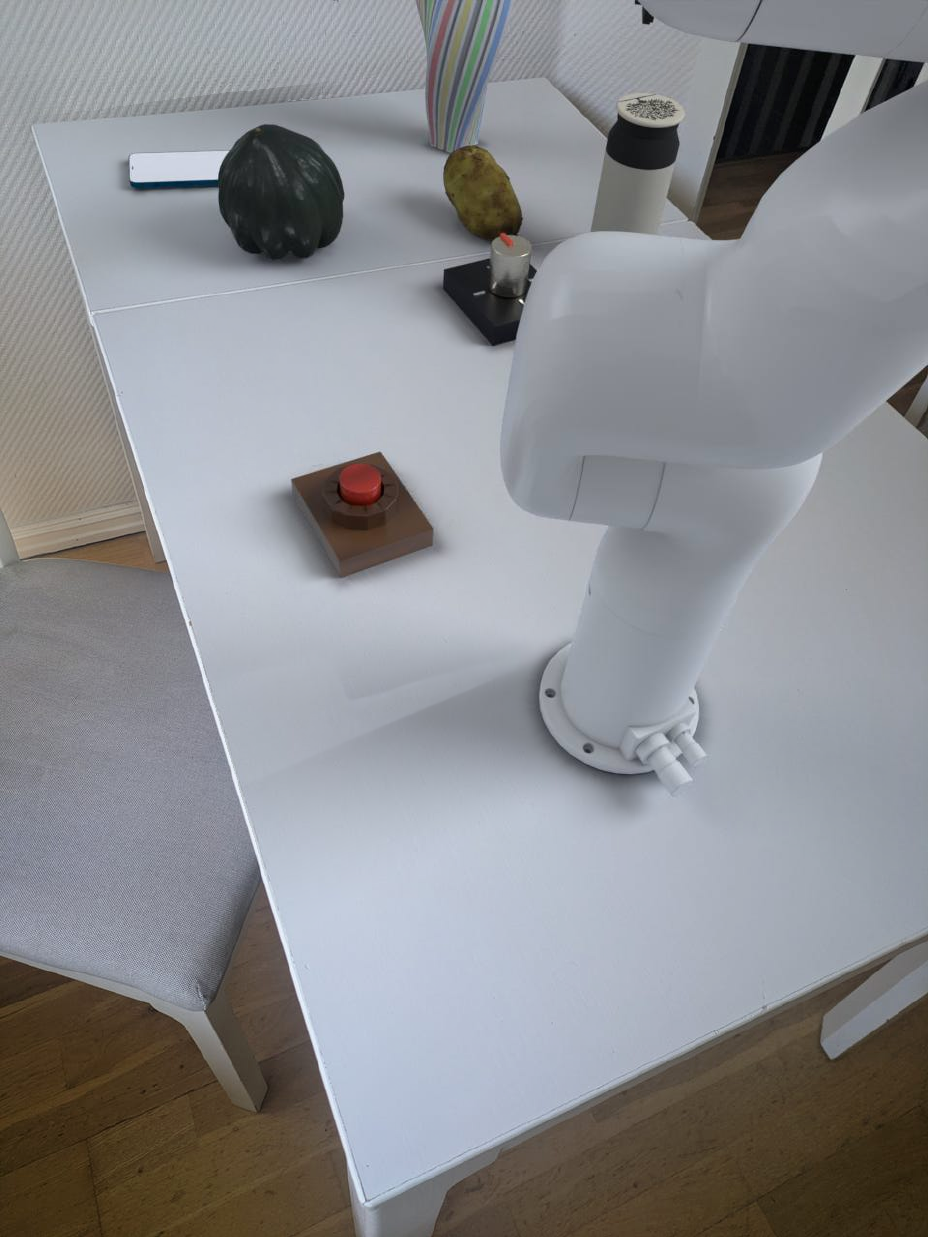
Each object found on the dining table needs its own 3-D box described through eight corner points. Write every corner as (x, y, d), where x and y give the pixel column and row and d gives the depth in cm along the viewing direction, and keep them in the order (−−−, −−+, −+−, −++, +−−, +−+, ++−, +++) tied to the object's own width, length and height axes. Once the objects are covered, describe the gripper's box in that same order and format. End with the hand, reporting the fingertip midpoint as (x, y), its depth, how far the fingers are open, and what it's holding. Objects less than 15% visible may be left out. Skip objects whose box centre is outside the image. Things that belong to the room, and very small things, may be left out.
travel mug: (661, 272, 111) (701, 119, 97) (604, 282, 109) (635, 127, 95) (631, 238, 115) (664, 87, 101) (575, 247, 113) (601, 94, 99)
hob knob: (533, 292, 102) (539, 248, 98) (499, 301, 101) (504, 257, 97) (513, 272, 105) (519, 228, 100) (480, 280, 103) (484, 236, 99)
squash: (345, 158, 112) (256, 68, 101) (383, 224, 105) (291, 136, 93) (268, 239, 117) (174, 163, 105) (299, 309, 109) (202, 235, 98)
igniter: (432, 545, 81) (434, 514, 78) (340, 578, 78) (338, 547, 75) (380, 468, 87) (380, 436, 84) (292, 495, 84) (289, 464, 81)
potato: (460, 253, 111) (464, 189, 104) (435, 200, 118) (438, 137, 112) (524, 248, 113) (532, 184, 106) (496, 195, 120) (502, 133, 114)
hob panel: (568, 324, 103) (572, 304, 101) (492, 346, 100) (494, 325, 98) (515, 270, 109) (518, 249, 107) (442, 288, 106) (443, 267, 104)
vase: (519, 141, 130) (547, -122, 106) (469, 177, 122) (487, -96, 99) (440, 113, 134) (450, -147, 110) (387, 147, 126) (386, -124, 102)
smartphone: (253, 155, 122) (129, 159, 119) (252, 148, 122) (128, 152, 118) (258, 185, 118) (130, 190, 115) (258, 178, 117) (128, 183, 114)
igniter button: (387, 499, 80) (387, 484, 78) (350, 511, 78) (349, 497, 77) (370, 473, 81) (370, 458, 80) (333, 485, 80) (332, 470, 79)
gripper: (647, -330, 48) (591, 32, 62) (975, -294, 48) (845, 61, 61) (646, -350, 52) (594, -10, 66) (945, -318, 52) (830, 18, 66)
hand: (714, 24), depth 64 cm, fingers open, 9 cm apart
